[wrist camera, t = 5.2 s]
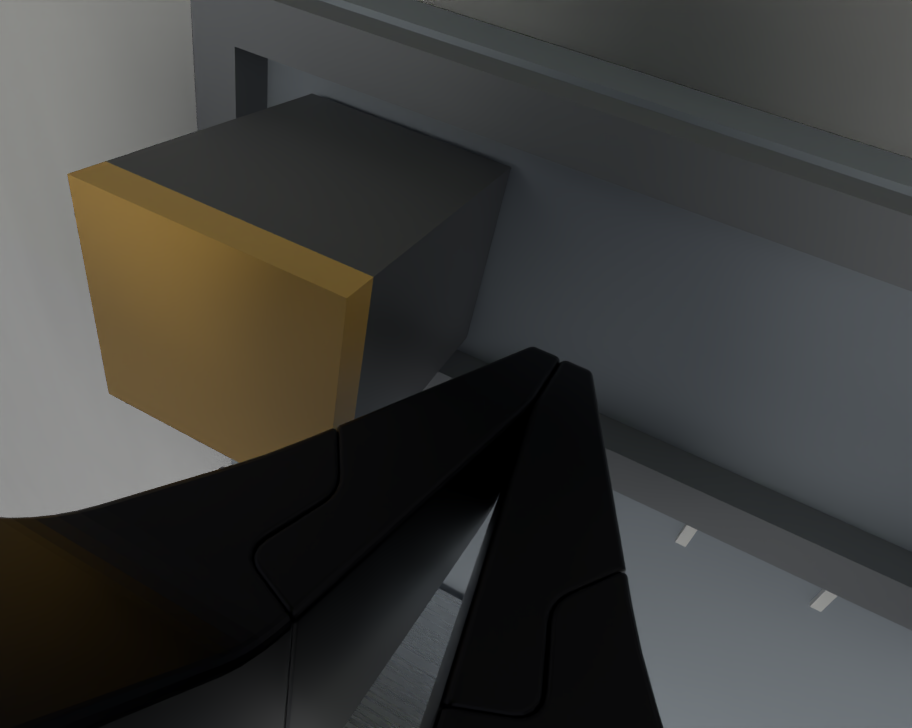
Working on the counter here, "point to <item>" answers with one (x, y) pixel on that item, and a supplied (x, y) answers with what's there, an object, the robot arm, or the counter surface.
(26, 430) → the counter surface
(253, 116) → the fader knob
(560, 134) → the console
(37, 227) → the counter surface
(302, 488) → the robot arm
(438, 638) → the rack door
